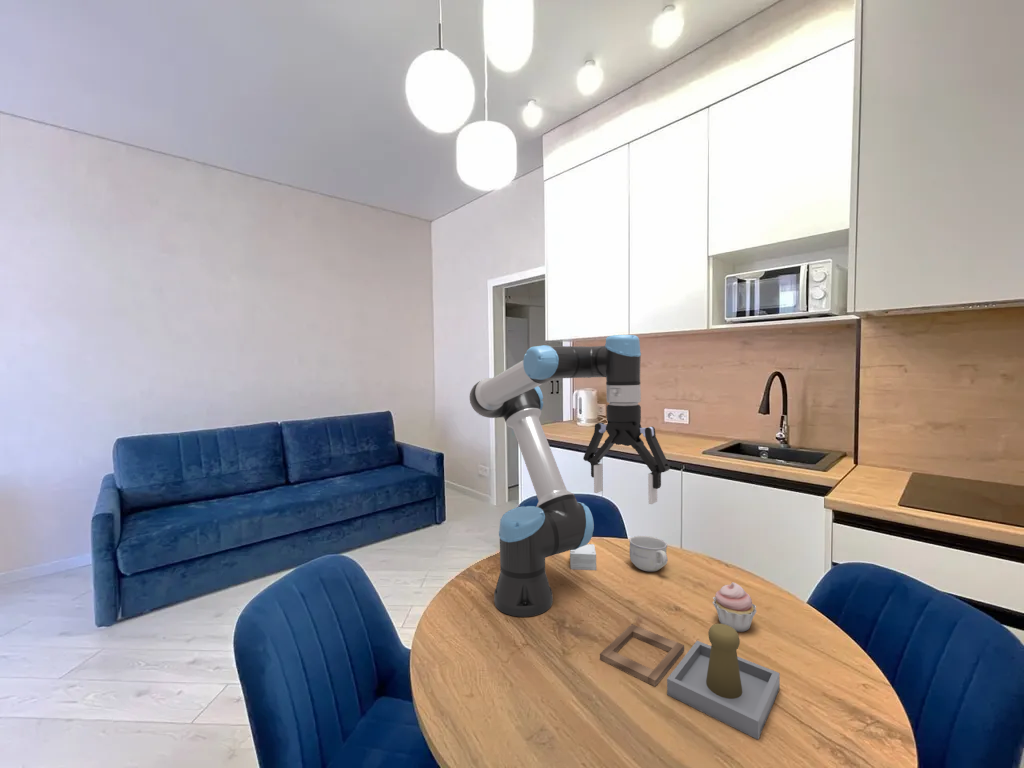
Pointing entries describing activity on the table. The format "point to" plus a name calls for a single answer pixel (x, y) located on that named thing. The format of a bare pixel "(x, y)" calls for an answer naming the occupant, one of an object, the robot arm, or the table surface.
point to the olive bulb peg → (724, 662)
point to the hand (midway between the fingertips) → (624, 497)
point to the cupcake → (734, 607)
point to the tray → (738, 712)
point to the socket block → (636, 668)
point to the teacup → (648, 552)
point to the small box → (583, 558)
